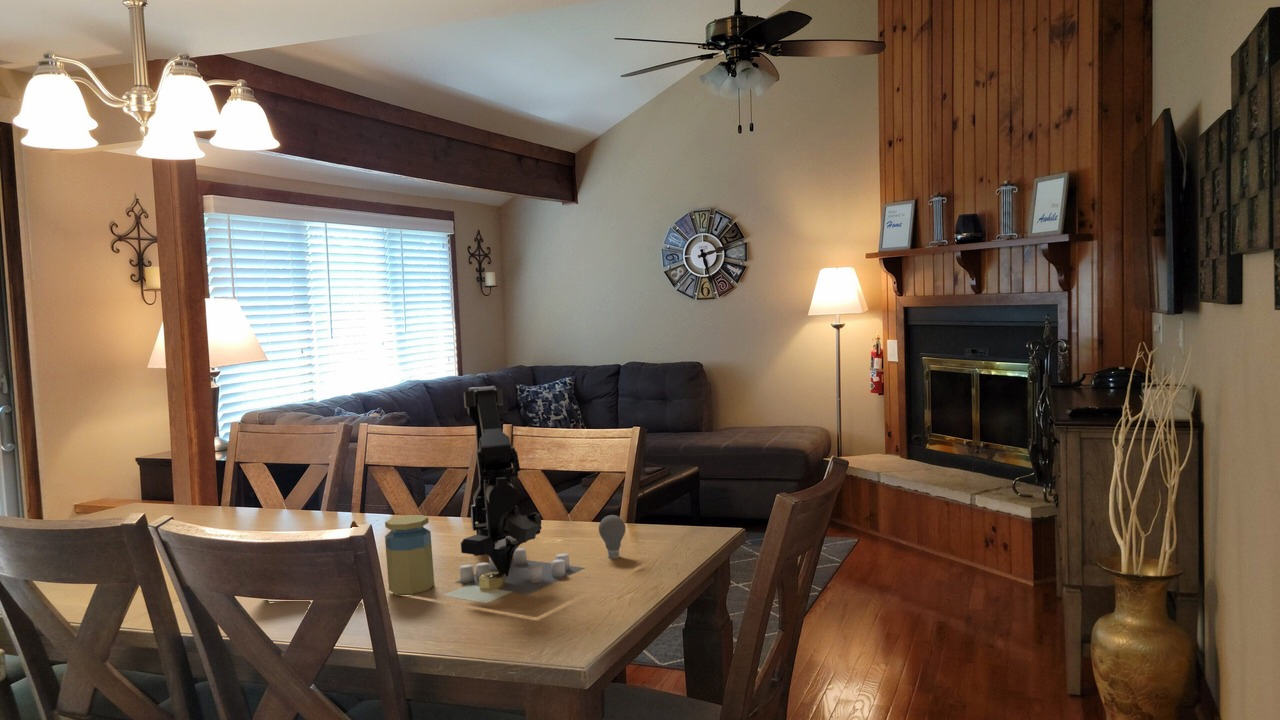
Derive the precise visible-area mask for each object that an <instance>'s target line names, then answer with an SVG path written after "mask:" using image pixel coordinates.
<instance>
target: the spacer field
mask: <svg viewBox="0 0 1280 720" xmlns="http://www.w3.org/2000/svg"><path fill="white" fill-rule="evenodd" d="M488 560H489V561H488V562H479V563H477V564H475V569H474V565H473V564H463V565H460V566H459V574H460V575H459V576H460V578H459V580H457V581H455V582H454V583H455V584H462V585H474V586H479V578H480V576H481V575H482V574H486V573H491V572H499V571H498V570H497V568H496V566H495V564H494V563H493V561H492V559H491V558H490V557H489V556H488ZM584 569H585V567H581V566H574V565H570V554H568V553H558V554H555V559H553V560H551V562H544V561H535V560H529V559H528V560H527V549H526V548H523V547H522V548H521V547H517V548H516V549H515V551H514V554H513V558H512V561H511V565H510V569H509V573H508V576H507V577H506V585H505V586H504V587H503V588H501V589H499V590H505V591H511V593H515V594H516V593H517V594H521V595H529V594H531V593H535V592H537V591H539V590H541V589H543V588H545V587H547V586H549V585H551V584H553V583H556V582H558V581H560V580H562V579H565V578H567V577H569V576H571V575H573V574H575V573H577V572H579V571H580V572H581V571H582V570H584ZM474 570H475V572H476V573H474Z"/></svg>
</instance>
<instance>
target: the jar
mask: <svg viewBox="0 0 1280 720" xmlns="http://www.w3.org/2000/svg"><path fill="white" fill-rule="evenodd" d="M427 524H429V517H428V516H426V515H423V514H406V515H402V516H397V517H396V516H395V517H391V518H390V519H388V520H385V521H384V526H385V528H386V529H388V530H390V531H389V532H388V533H386V535H385V536H384V541H385V542H384V543H385V555H386V557H385V558H386V567H387V568H386V569H387V581H388V590H389V591H390V592H392V593H393V594H394V595H396V596H399V595H416V594H419V593H424V592H425V591H426V592H427V591H429V590H430V589H431V588H432V587H433V586H435V575H434V572H435V571H434V563H433V561H434V560H433V548H432V545H433V544H432V534H431V530H429V529H428V528H426V527H424V526H425V525H427Z"/></svg>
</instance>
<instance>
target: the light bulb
mask: <svg viewBox="0 0 1280 720" xmlns="http://www.w3.org/2000/svg"><path fill="white" fill-rule="evenodd" d="M626 529H627V528H626V524H625V522H624V520H623V519H622V518H621V517H620V516H618V515H615V514H610V515H606V516H604V517H603V518H602V519H601V521H600V522H599V525H598V533H599V536H600V537H601V539H602V540H603V542H604V544H605V548H606V549H607V555H608V556H607V559H611V560H615V559H619V558H620V548H621V542H622V540H623V538H624V536H625V533H626Z"/></svg>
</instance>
